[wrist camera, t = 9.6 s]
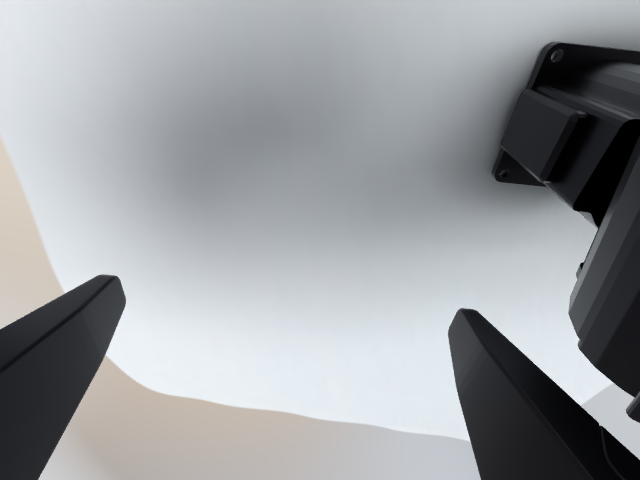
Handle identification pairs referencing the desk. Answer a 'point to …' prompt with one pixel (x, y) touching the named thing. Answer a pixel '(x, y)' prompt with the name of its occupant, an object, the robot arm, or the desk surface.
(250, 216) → the desk surface
